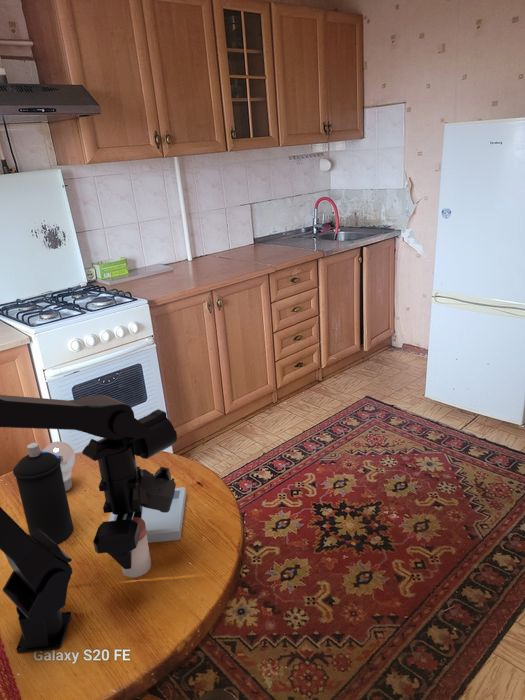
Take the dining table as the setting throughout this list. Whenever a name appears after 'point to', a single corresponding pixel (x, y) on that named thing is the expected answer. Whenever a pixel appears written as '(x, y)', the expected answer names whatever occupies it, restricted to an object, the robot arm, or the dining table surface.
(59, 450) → the light bulb
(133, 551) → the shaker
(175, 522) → the dish
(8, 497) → the dining table surface
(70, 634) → the dining table surface
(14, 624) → the dining table surface
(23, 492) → the aerosol can
